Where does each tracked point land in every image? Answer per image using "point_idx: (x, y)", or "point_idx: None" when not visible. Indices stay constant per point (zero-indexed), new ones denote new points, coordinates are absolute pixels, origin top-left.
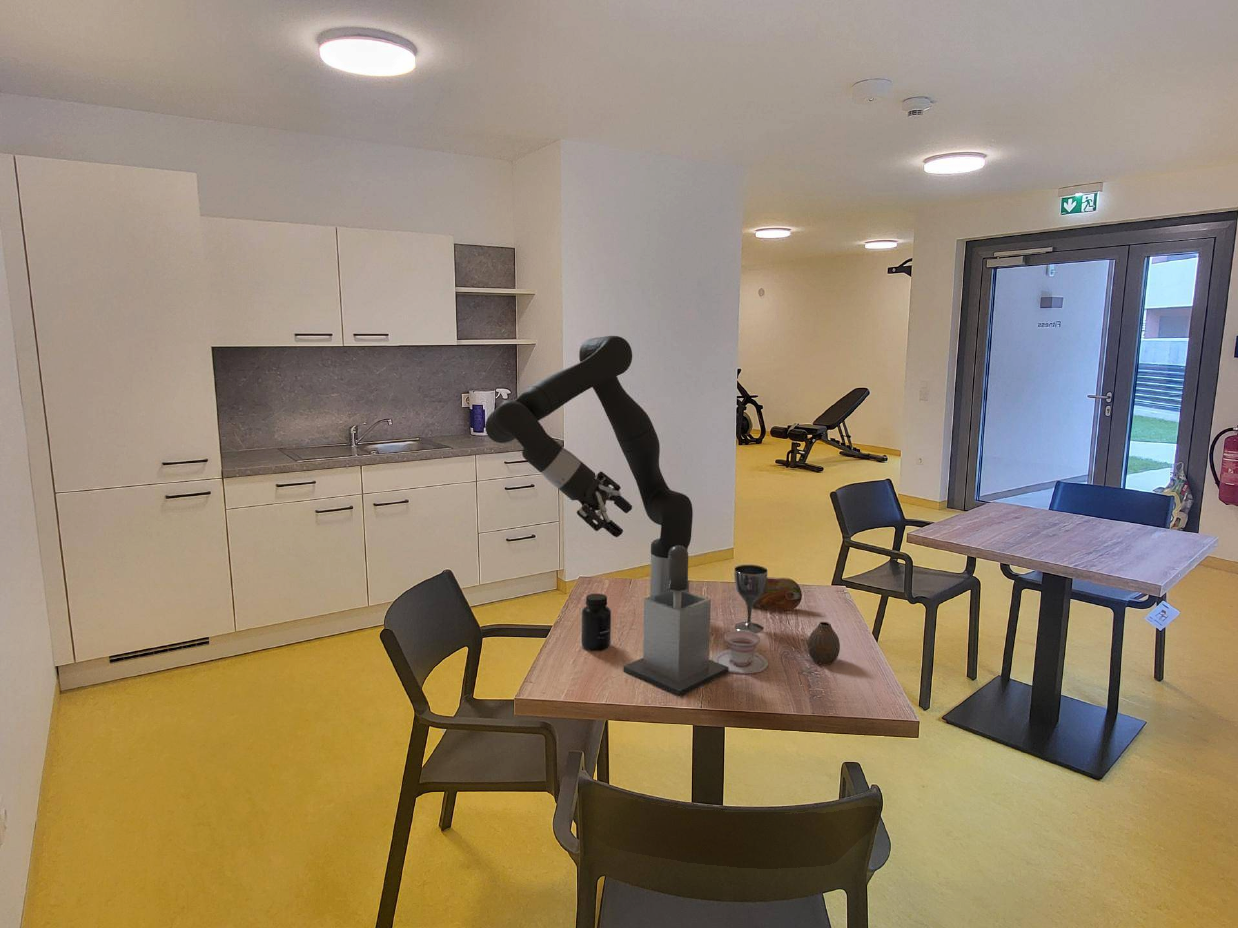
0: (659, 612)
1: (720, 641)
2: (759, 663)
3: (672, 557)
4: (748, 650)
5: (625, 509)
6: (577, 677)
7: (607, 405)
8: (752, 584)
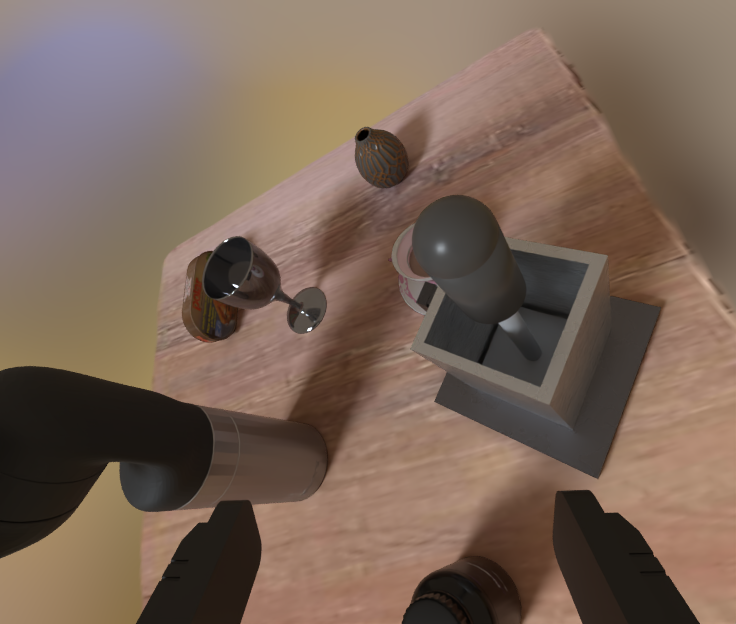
0: (578, 344)
1: (371, 332)
2: None
3: (496, 243)
4: None
5: (248, 559)
6: (712, 604)
7: None
8: (266, 261)
